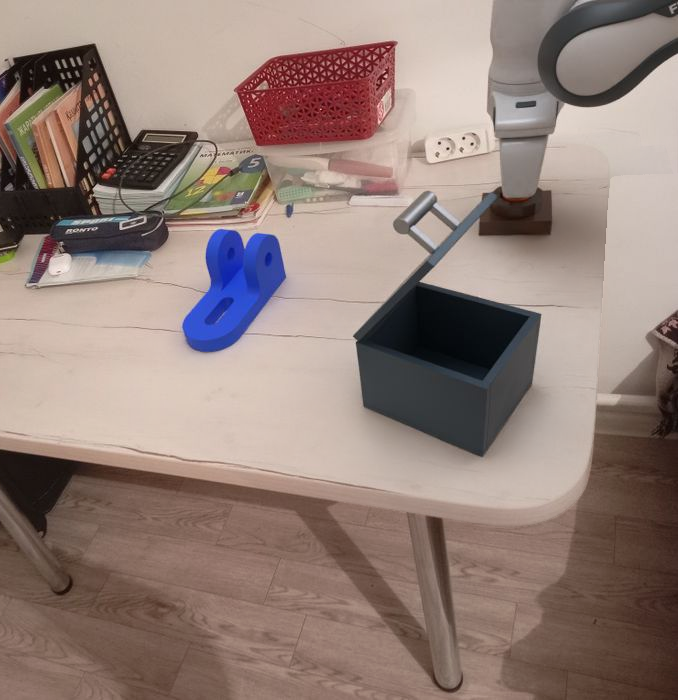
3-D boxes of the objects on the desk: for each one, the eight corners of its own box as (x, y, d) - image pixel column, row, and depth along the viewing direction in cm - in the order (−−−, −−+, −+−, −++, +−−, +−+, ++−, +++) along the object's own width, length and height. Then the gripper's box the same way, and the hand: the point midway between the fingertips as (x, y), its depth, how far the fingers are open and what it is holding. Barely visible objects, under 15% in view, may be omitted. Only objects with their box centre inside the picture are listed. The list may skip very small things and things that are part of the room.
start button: (530, 197, 87) (531, 186, 86) (529, 210, 85) (531, 199, 84) (502, 198, 89) (502, 187, 88) (501, 211, 87) (501, 200, 85)
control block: (549, 203, 89) (552, 178, 87) (550, 234, 84) (553, 208, 82) (481, 205, 93) (483, 181, 90) (478, 235, 88) (479, 210, 85)
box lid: (498, 196, 56) (453, 159, 56) (434, 267, 50) (385, 225, 51) (415, 278, 68) (380, 247, 69) (358, 341, 63) (320, 307, 64)
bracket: (238, 270, 96) (225, 219, 90) (286, 277, 92) (275, 224, 86) (175, 344, 86) (156, 293, 80) (224, 357, 82) (208, 304, 76)
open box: (532, 383, 66) (541, 313, 60) (482, 457, 61) (486, 389, 55) (415, 344, 75) (413, 279, 69) (363, 406, 70) (355, 342, 63)
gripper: (501, 65, 85) (495, 158, 94) (494, 132, 72) (488, 233, 81) (553, 59, 82) (542, 155, 91) (556, 127, 69) (543, 232, 78)
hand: (517, 192), depth 86 cm, fingers closed, pressing on start button
